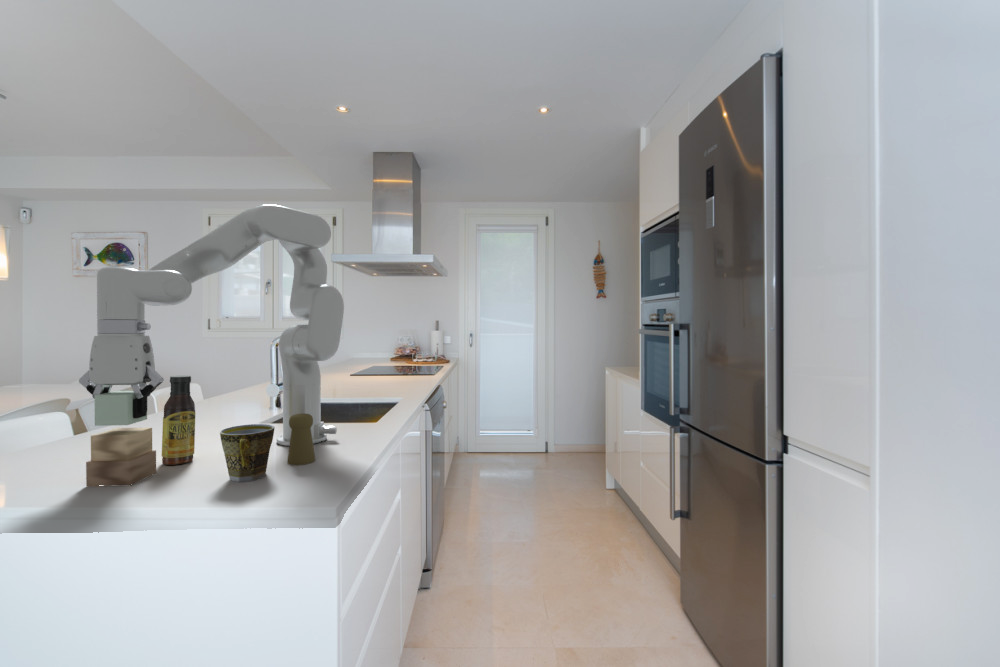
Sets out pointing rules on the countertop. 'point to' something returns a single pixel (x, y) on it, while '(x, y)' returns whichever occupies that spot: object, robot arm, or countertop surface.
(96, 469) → the walnut block
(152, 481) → the countertop surface
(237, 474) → the ceramic cup
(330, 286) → the robot arm
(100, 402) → the sage block
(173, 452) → the sauce bottle
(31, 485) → the countertop surface
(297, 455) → the cork
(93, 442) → the oak block
